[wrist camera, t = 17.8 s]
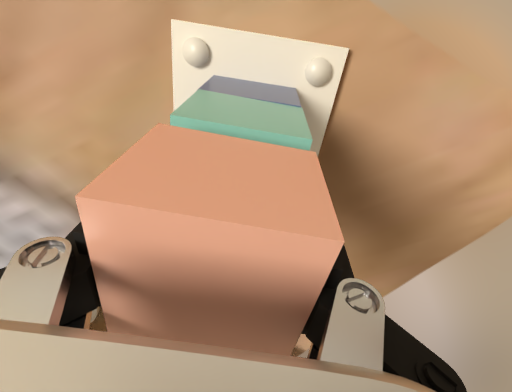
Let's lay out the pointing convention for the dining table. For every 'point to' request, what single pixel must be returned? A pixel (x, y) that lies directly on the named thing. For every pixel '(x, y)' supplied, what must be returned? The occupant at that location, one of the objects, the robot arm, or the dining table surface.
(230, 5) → the dining table surface
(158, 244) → the coral brick
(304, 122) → the teal brick
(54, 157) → the dining table surface
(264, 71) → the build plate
